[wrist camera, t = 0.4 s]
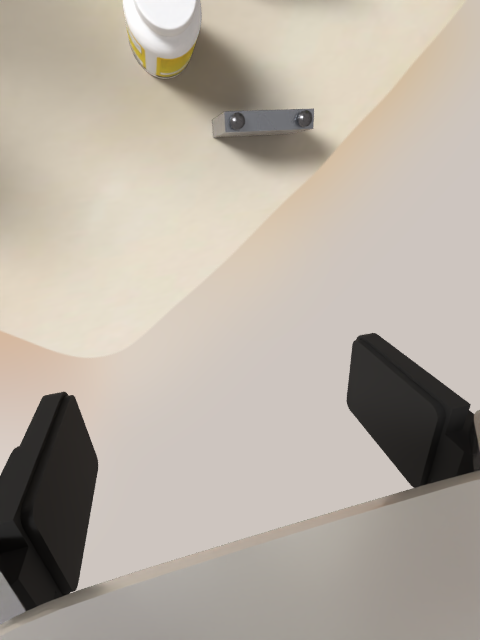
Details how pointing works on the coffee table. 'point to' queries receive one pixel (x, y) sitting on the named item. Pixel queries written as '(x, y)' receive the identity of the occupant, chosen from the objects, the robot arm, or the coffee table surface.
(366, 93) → the coffee table surface
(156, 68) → the supplement bottle
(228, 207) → the coffee table surface
